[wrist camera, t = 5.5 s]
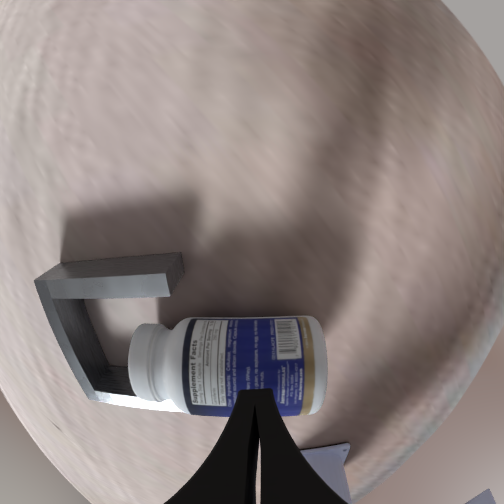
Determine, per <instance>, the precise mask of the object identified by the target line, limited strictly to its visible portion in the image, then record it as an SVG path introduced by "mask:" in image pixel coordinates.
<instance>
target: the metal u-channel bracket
mask: <svg viewBox="0 0 504 504" xmlns="http://www.w3.org/2000/svg"><path fill="white" fill-rule="evenodd" d="M183 274H184V267H183V262H182V256H181V252H180V253H168V254H156V255H145V256H133V257H122V258H111V259H100V260H89V261H78V262H67V263H59V264H58V265H56V266H54V267H53V268H51V269H50V270H48V271H47V272H45V273H44V274H42V275H41V276H40V277H38V278H37V279H35V280H34V283H35V286H36V289H37V292H38V295H39V297H40V300H41V303H42V306H43V308H44V311H45V313H46V316H47V318H48V321H49V323H50V326H51V328H52V330H53V333H54V335H55V337H56V339H57V341H58V344H59V346H60V348H61V350H62V352H63V354H64V356H65V358H66V360H67V362H68V364H69V366H70V368H71V370H72V371H73V373H74V375H75V377H76V379H77V380H78V382H79V384H80V386H81V387H82V389H83V391H84V392H85V394H86V396H87V397H88V399H90V400H95V401H100V402H105V403H111V404H117V405H123V406H130V407H137V408H145V409H155V410H166V411H179V412H182V411H181V410H179V409H178V408H177V407H176V406H175V405H174V403H173V402H172V400H168V399H167V400H166V401H163V402H161V403H158V402H150V401H145V400H141V399H140V398H138V397H137V396H136V394H135V393H134V391H133V389H132V386H131V382H130V378H129V371H128V367H118V366H109V364H108V362H107V360H106V358H105V355H104V353H103V351H102V348H101V346H100V344H99V341H98V339H97V337H96V334H95V332H94V329H93V326H92V324H91V321H90V319H89V316H88V313H87V310H86V307H85V305H84V302H83V299H102V298H146V297H170V296H171V295H172V293H173V291H174V289H175V288H176V286H177V284H178V282H179V281H180V279H181V277H182V276H183Z"/></svg>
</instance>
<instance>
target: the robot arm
mask: <svg viewBox="0 0 504 504" xmlns="http://www.w3.org/2000/svg"><path fill="white" fill-rule="evenodd" d="M259 438H260V447H261V502H260V504H352V501H351V496H350V492H349V487H348V483H347V478H346V474H345V470H344V466H343V465H344V462H345V460H346V457H347V455H348V452H349V449H350V444H349V443H344V444H339V445H334V446H328V447H322V448H316V449H309V450H301V451H300V450H299V449H298V447H297V446H296V444H295V442H294V441H293V439H292V437H291V435H290V434H289V432H288V430H287V428H286V426H285V424H284V422H283V420H282V417H281V415H280V413H279V410H278V407H277V405H276V402H275V398H274V394H273V389H271V388H262V389H243V390H240V391H238V395H237V399H236V402H235V405H234V408H233V410H232V413H231V415H230V417H229V420H228V422H227V424H226V426H225V428H224V430H223V432H222V434H221V436H220V438H219V439H218V441H217V443H216V445H215V446H214V448H213V450H212V451H211V453H210V454H209V456H208V457H207V458H206V460H205V461H204V463H203V464H202V465H201V467H200V468H199V469H198V470H197V471H196V473H195V474H194V475H193V476H192V477H191V479H190V480H189V481H188V482H187V483H186V484H185V485H184V486H183V487H182V488H181V489H180V490H179V491H178V492H177V493H176V494H175V495H174V496H172V497H171V498H170V499H169V500H168V501H166V502H165V503H164V504H256V471H257V460H258V448H259ZM465 504H496V503H495V500H494V498H493V496H492V494H491V491H490V489H487V490H485V491H484V492H482V493H481V494H479V495H478V496H476V497H475V498H473V499H471V500H470V501H468V502H467V503H465Z"/></svg>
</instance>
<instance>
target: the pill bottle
mask: <svg viewBox="0 0 504 504" xmlns="http://www.w3.org/2000/svg"><path fill="white" fill-rule="evenodd" d="M128 371H129V378H130V382H131V386H132V389H133V391H134V393H135V394H136V396H137V397H138V398H140V399H141V400H145V401H150V402H158V403H161V402H163V401H166V400H167V399H168V400H172V402H173V403H174V405H175V406H176V407H177V408H178V409H179V410H181V411H182V412H184V413H187V414H191V415H201V416H219V417H230V415H231V413H232V410H233V408H234V405H235V402H236V399H237V395H238V391H240V390H243V389H262V388H271V389H273V394H274V398H275V402H276V405H277V407H278V410H279V413H280V415H281V416H297V415H309V414H314V413H316V412H317V411H318V410H319V409H320V408H321V406H322V404H323V402H324V398H325V394H326V388H327V375H328V364H327V350H326V343H325V339H324V334H323V331H322V328H321V326H320V324H319V322H318V321H317V320H316V319H315V318H314V317H312V316H277V317H244V318H231V317H228V318H220V317H190V318H186V319H183V320H182V321H180V322H179V323H178V324H177V325H176V326H175V327H174V329H173V330H169V329H167V328H166V327H165V326H164V325H163V324H141V325H140V326H139V327H138V328H137V329H136V330H135V332H134V334H133V336H132V340H131V343H130V348H129V356H128Z"/></svg>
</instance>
